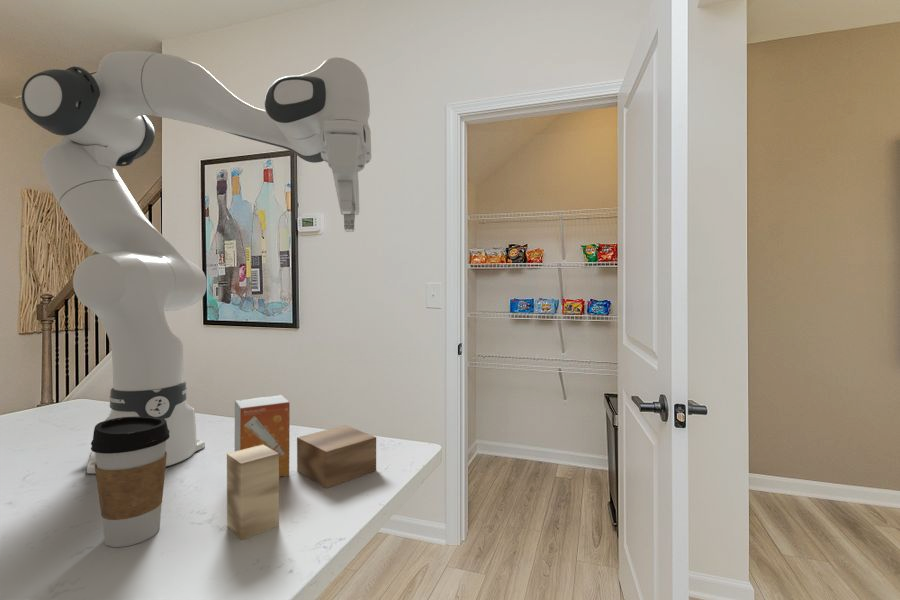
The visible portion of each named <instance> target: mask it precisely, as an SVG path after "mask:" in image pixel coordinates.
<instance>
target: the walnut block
mask: <svg viewBox="0 0 900 600" xmlns="http://www.w3.org/2000/svg"><path fill="white" fill-rule="evenodd" d="M296 465H297V466H296V469H297V470H296V471H297V472H299V473H301V474H302V475H303V476H305V477H307V478H308V479H310V480H312V481H313V482H316V483H317V484H319V485H320V486H322V487H323V488H325V489H328V488H330V487H334V486H336V485H339V484H342V483H345V482H347V481H350V480H353V479H356V478H359V477H361V476H364V475H367V474H370V473H373V472H375V471H377V436H374V435H373V434H369V433H367V432H364V431H361V430H359V429H356V428H353V427H351V426H348V425H346V424H345V425H341V426H338V427H333V428H329V429H326V430H320V431H317V432H313V433H310V434H305V435H300V436H298V437H296Z"/></svg>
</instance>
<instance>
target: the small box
mask: <svg viewBox="0 0 900 600" xmlns="http://www.w3.org/2000/svg"><path fill="white" fill-rule="evenodd" d="M290 405H291V404H290V401H289V400H288V399H287V398H286V397H284V395H282V394H279V395H273V396H272V395H271V396H260V397H253V398H248V399H237V400H234V452H235V451H239V450H243V449H247V448H251V447H255V446H259V445H265V446H267V447H268V448H270V449H272V450H274V451H275V452H277V453H279V478H280V477H286V476H287V477H288V476H289V475H290V426H291V425H290V419H291V417H290V415H291V414H290V409H291V408H290Z"/></svg>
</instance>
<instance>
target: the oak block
mask: <svg viewBox="0 0 900 600" xmlns="http://www.w3.org/2000/svg"><path fill="white" fill-rule="evenodd" d="M226 499H227V500H226V509H227V510H226V517H227V519H226V524H227V527H228V528H229V529H230V530H231V531H232V532H233V533H234V534H235V535H236V536H237V537H238V539H239V540H241V541H243V540H246V539H249V538H251V537H253V536H255V535H258V534H261V533H263V532H267V531H268V529H269V530H271V529H274V528H276V527H279V526H280V477H279V453H277V452H275V451H274V450H272V449H270V448H268V447H267V446H265V445H259V446H255V447H251V448H247V449H243V450H239V451H235V450H234V451H231V452H228V453H226Z"/></svg>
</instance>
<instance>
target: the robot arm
mask: <svg viewBox="0 0 900 600" xmlns="http://www.w3.org/2000/svg"><path fill="white" fill-rule="evenodd" d="M264 97H265V98H264V108H265V109H263V108H262V109H261V108H259V107H256V106H255V107H254V106H253V105H250V104H249V103H247V102H245V101H243V100H242V99H241V98H239V97H237V96H236V95H235V94H233V93H232V92H231V91H230V90H229V89H227V88H226V87H225V86H224V85H223V84H222V83H221V82H220V81H219V80H218V79H216V78H215V76H213V75H212V74H211V73H210V72H209V71H208V70H206V69H205V68H204V67H203V66H201V65H200V64H198V63H197V62H193V61H190V60H189V59H186V58H183V57H180V56H177V55H173V54H167V53H161V52H156V51H155V52H154V51H145V50H121V51H120V50H119V51H112V52H110V53H107V54H106V55H105V56H103V58H102V59H101V60H100V63H99V65H98V70H97V71H96V72H95V73H93V74H91V73H90V72H89V71H88V70H86V69H84V67H83V68H82V67H80V66H71V67H67V68H66V69H58V68H57V69H47V70H43V71H40V72H38V73H35V74H34V75H32V76H31V77H29V78H28V79H27V80H26V82H25V83H24V86H23V88H22V91H21V104H22V108H23V110H24V113H25V114H26V115H27V117H29V119H31V121H32V122H34V123H35V124H36V125H38V126H39V127H41V128H43V129H44V130H46V131H47V132H49V133H51V134H54V135H57V136H61V137H62V140H61V141H60V142H59V143H56V144H54V145H52V146H50V147H48V148H47V149H46V151H45V152H44V153H43V154H42V155H43V156H42V158H41V163H42V169H43V172H44V174H45V177H46V180H47V183H48V185H49V188H50V190H51V192H52V194H53V197H54V198H55V200H56V201H57V203H58V205H59V206H60V208H61V210H62V211H63V213H64V216H66V218H67V221H69V222H70V224H71V227H72V228H73V229H74V231H75V233H76V234H77V236H78V238H79V239H80V241H82V242H83V244H84V245H85V246H86V247H88V248H89V249H90V250H93V251H94V252H96V254H92V255H90V256H87V257H85V258H84V259H83V260H82V261H81V262H80V263H79V264H78V265H77V266H76V269H75V271H74V274H73V277H72V285H73V287H72V288H73V291H74V293H75V296H76V298H77V299H78V301H79V302H81V304H82V305H84V306H85V307H86V308H88V309H89V310H90V311H91V312H93V313H94V315H96V316H97V318H98V319H99V321H100V322H101V325H102V326H103V329H104V331H105V332H106V335H107V338H108V341H109V344H110V348H111V361H112V362H111V363H112V385H113V387H112V388H111V389H110V392H109V393H110V394H109V409H110V411H109V413H108V415H107V417H106V418H105V419H104V421H106V420H110V419H115V418H121V417H156V418H162V419H165V420H166V422H167V427H168V430H169V431H170V433H169V435H170V437H169V439H167V440H166V448H165V451H166V452H167V457H166V467H168V466H172V465H175V464H178V463H180V462H182V461H185V460H187V459H188V458H190V457H192V455H193V454H195V453H196V452H197V451H199V450H202V449H203V448H205V447H206V444H205V441H204V440H201V439H198V438H197V423H196V411H195V408H194V407H192V406H191V405H189V404H188V403H187V401H186V400H187V393H188V390H187V389H188V387H187V382H186V381H185V380H184V345H183V342H182V340H181V339H180V338H179V337H178V336H177V335H175V334H174V333H173V332H172V330H171V328H170V326H169V324H168V321H167V318H166V315H165V312H171V311H172V312H173V311H179V310H183V309H185V308H188V307H191V306H193V305H195V304H197V303H199V302H200V301H201V300H202V298H203V297H204V296H205V294H206V292H207V288H208V287H207V286H208V282H207V281H208V280H207V277H206V275H205V272H204V271H203V270H202V268H200V266H199V265H197V264H195V263H193V262H192V261H191V260H189V259H188V258H186V257H185V256H184V255H183V254H182V253H181V252H179V251H178V250H177V249H176V248H175V247H174V246H173V244H171V242H169V241H168V240H167V239H166V238H165V236H164V235H162V234H161V232H159V230H157V228H156V227H155V226H154V225H153V224H152V222H151V221H150V220H149V219H148V217H146V216H145V213H144V212H143V210H142V209H141V208H140V206H139V204H138V202H137V201H136V199H135V198H134V197H133V195H132V193H131V192H130V191H129V188H128V187H127V185H126V183H125V182H124V180H123V179H122V178H121V176H120V175H119V172H118V170H117V167H127V166H130V165H132V163H133V162H134V161H135V160H138V159H140V158H142V157H143V156H144V155H145V154H147V152H148V151H149V150H150V149H151V148H152V147H153V144H154V141H155V136H156V135H155V132H156V131H155V127H154V126H153V124H152V122H151V120H150V119H149V118H148V117H147V116H154V117H160V118H163V119H169V120H174V121H179V122H184V123H187V124H193V125H197V126H201V127H202V126H203V127H206V128H209V129H213V130H217V131H221V132H224V133H227V134H231V135H233V136H237V137H240V138H244V139H247V140H251V141H256V142H258V143H259V142H260V143H263V144H267V145H270V146H275V147H278V148H282V149H285V150H287V151H289V152H292V153H293V154H295V155H296V156H297V157H299V158H300V159H302V160H304V161H305V162H309V163H313V164H314V163H317V164H318V163H322V162H326V163H327V165H328V167H329V168H330V170H332V171H331V172H332V175H333V181H334V186H335V192H336V196H337V201H338V206H339V211H340V214H341V215H342V216H343V223H344V224H343V225H344V226H343V227H344V231H345V232H346V233H352V232H354V231H355V220H356V216H359V214H360V191H359V189H360V187H359V172H361V171H363V170H364V169H365V167H366V165H367V164H369V163H370V161H371V160H372V137H371V136H372V135H371V133H372V132H371V129H370V125H369V118H370V115H371V114H370V113H371V109H370V107H371V106H370V92H369V85H368V80H367V77H366V76H365V73H364V72H363V69H361V68H360V67H359V65H357V64H356V63H354V62H353V61H351V60H349V59H346V58H343V57H336V56H335V57H330V58H327V59H325V60H324V61H323V63H322V64H320V66H318V67H317V68H316V69H314V70H312V71H310V72H307V73H304V74H300V75H286V76H283V77H282V76H281V77H280V78H278V79H276V80H275V81H274V82H273V83H271V84H270V86H269V88H268V89H267V91H266V94H265V96H264ZM95 464H96V455H95V452H93V451H91V455H90V458H89V461H88V464H87V467H86V473H87V474H96V473H95Z"/></svg>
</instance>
